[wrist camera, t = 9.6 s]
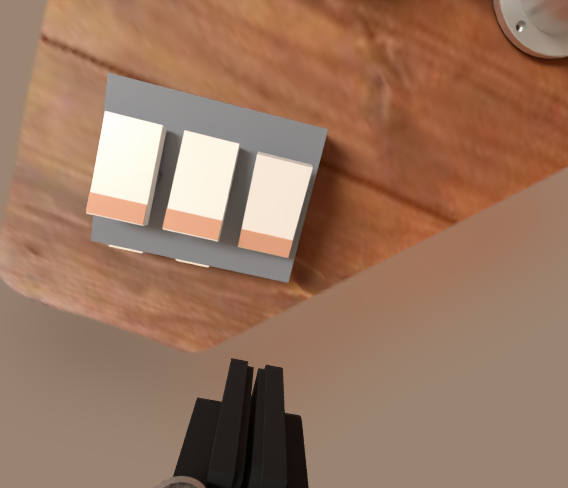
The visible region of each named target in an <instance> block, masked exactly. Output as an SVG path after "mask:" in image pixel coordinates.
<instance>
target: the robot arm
mask: <svg viewBox="0 0 568 488" xmlns="http://www.w3.org/2000/svg"><path fill="white" fill-rule="evenodd" d="M493 3H494V9H495V13H496V16H497V19H498V22H499V24H500V26H501V28H502V30H503V32H504V34H505V35H506V36H507V37H508V39H509V40H510V41H511V42H512V43H513V44H514V45H515V46H516V47H518V48H519V49H521V50H522V51H523V52H525V53H528V54H530V55H532V56H535V57H540V58H546V59H555V58H564V57H567V56H568V0H493ZM253 369H254V368H253V367H249V366H248V361H243V360H238V359H233V358H232V359H231V363H230V367H229V372H228V376H227V381H226V385H225V390H224V394H223V400H222V402H220V401H214V400H209V399H203V398H197V400H196V403H195V407H194V410H193V413H192V416H191V420H190V423H189V426H188V429H187V433H186V436H185V439H184V443H183V447H182V449H181V452H180V456H179V459H178V462H177V466H176V469H175V472H174V475H173V477H171V478H169V479H166V480H164V481H162V482H161V483H159V484H158V485H157V486H156V487H154V488H308V478H307V469H306V458H305V448H304V438H303V428H302V420H301V416H299V415H294V414H288V413H285V410H284V386H283V385H284V384H283V368H281V367H275V366H270V365H266V366H265V369H260V368H259V369H258V372H257V376H256V380H255V384H254V388H253V393H252V396H251V391H252V381H253Z"/></svg>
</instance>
